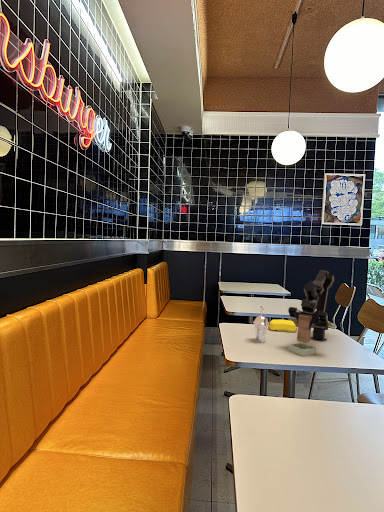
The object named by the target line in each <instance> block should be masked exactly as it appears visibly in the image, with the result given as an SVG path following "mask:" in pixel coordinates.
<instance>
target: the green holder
mask: <svg viewBox="0 0 384 512" xmlns="http://www.w3.org/2000/svg"><path fill="white" fill-rule="evenodd" d="M288 351H289V352H291V353H293V354H296V355H299V356H301V357H306V356H312V355H316V354H317V347H315V346H312V345H309V344H308V343H303V342H297V343H292V344H288Z"/></svg>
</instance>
